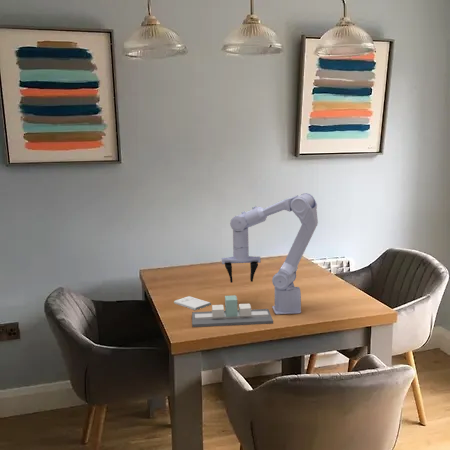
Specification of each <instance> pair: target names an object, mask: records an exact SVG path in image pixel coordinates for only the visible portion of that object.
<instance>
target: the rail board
mask: <svg viewBox="0 0 450 450" xmlns="http://www.w3.org/2000/svg"><path fill="white" fill-rule="evenodd" d="M266 324H267V325H268V324H269V325H270V324H274V320H273V317H272V314H271V312H270V309H269V308H260V309H259V308H258V309H257V308H256V309H255V308H254V309H252V306H251V304H250V303H238V316H232V317H226V313H225V306H224V304H211V311H210V310H209V311H192V313H191V325H192V326H191V327H192V328H202V327H203V328H205V327H206V328H207V327H224V326H225V327H226V326H247V325H249V326H250V325H266Z"/></svg>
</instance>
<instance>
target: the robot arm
mask: <svg viewBox="0 0 450 450" xmlns="http://www.w3.org/2000/svg"><path fill="white" fill-rule="evenodd" d="M317 207H318V204H317V201H316V199H315V197H314V196H313V195H312V194H311V193H308V192H304V193H302V194H300V195H294V196H290V197H287V198H284V199H283V200H280V201H278V202H275V203H273V204H271V205H268V206H267V207H266V206H265V208H264V207H263V206H256V205H255V206H253V207H252V209H250V210H248V211H244V210H243V211H242V212H241V213H240V214H237V215H234V216H233V217H232V218H231V220H230V223H229V224H230V228H231V229H232V249H233V254H232V255H233V256H231V257H229V256H228V257H222V258H221V265H224V267H225V268H226V271H227V273H228V276H229V281H230V283H233V265H232V264H244V263H245V264H246V263H247V264H248V263H249V264H250V274H249V275H250V283H253V282H254V277H255V273H256V271H257V268H258V267H259V263H260V264H261V259H262V258H261V256H255V255H254V256H252V255H250V256H249V254H250V253H249V228H252V227H253V226H256V225H259V224H261V223H264V222H265V221H267V217H268V216H271V215H273V214H276V213H279V212H282V211H287V212H293V214H294V215H295V216H296V217H297V218H298V219H299V221H300V223H301V226H300V227H299V229H298V232H297V234H296V237H295V238H294V240H293V243H292V245H291V246H290V249H289V251H288V254H287V256H286V258H285V259H284V261H283V264H281V267H280V268H278V269H279V270H278V272H276V273H275V274H273V276H272V279H271V282H272V285H273V286H274V305H272V310H273V312H274V314H275V315H291V314H292V315H293V314H301V313H302V294H301V288H300V287H299V286H295V284H294V282H295V281H296V278H297V271H298V269H299V268H298V265H299V264H300V261H301V259H302V257H303V256H304V254H305V252H306V248H307V247H308V245H309V243H310V242H311V241H310V240H311V239H312V236H313V235H314V232H316V231H315V230H316V228H317V226H318V224H319V221H318V210H317V209H318V208H317Z"/></svg>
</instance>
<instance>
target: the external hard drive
mask: <svg viewBox="0 0 450 450" xmlns="http://www.w3.org/2000/svg"><path fill="white" fill-rule="evenodd" d="M173 303H174V304H175V305H178V306H180V307H181V306H182V307H184V308H186V307H187V309H189V310H192V311H198V310H201V309H203V308H207V307H210V306H212V302H210V301H206V300H203V299H199V298H197V297H193V296H191V295H188V296H185V297H182V298H180V299H179V298H178V299H175V300H174V301H173ZM209 305H210V306H209ZM206 306H207V307H206ZM200 308H201V309H200ZM197 309H198V310H197Z"/></svg>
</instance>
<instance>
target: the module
mask: <svg viewBox="0 0 450 450" xmlns="http://www.w3.org/2000/svg"><path fill="white" fill-rule="evenodd" d="M238 310H239V308H238V297H237V295H235V294H234V295H233V294H232V295H224V311H225V313H226V317H232V316H238Z"/></svg>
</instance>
